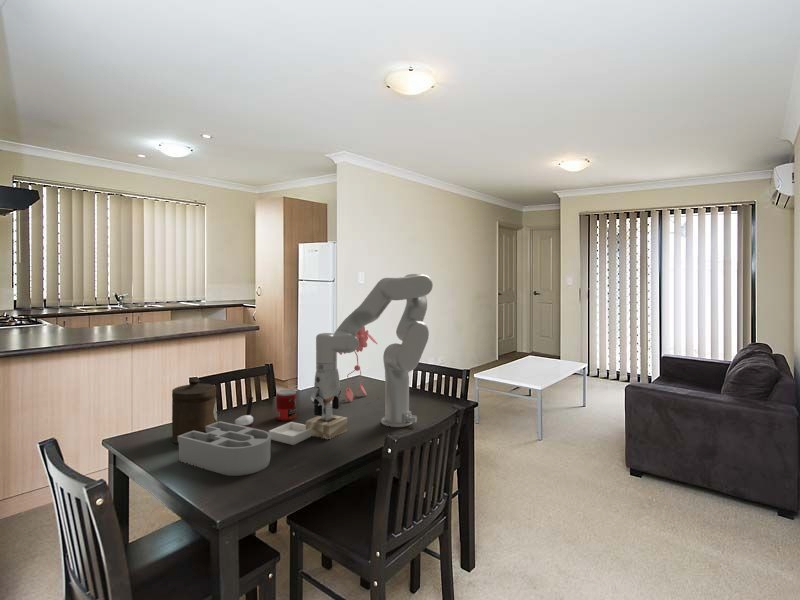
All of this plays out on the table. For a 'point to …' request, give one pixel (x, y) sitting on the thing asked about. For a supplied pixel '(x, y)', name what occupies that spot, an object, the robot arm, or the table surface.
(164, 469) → the table surface
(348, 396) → the pink stick figure
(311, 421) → the socket block
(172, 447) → the table surface
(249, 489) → the table surface
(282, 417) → the canned food
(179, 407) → the wooden container
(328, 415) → the steel pin
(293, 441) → the tray
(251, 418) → the white oval with stem
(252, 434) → the grey compartment organizer
